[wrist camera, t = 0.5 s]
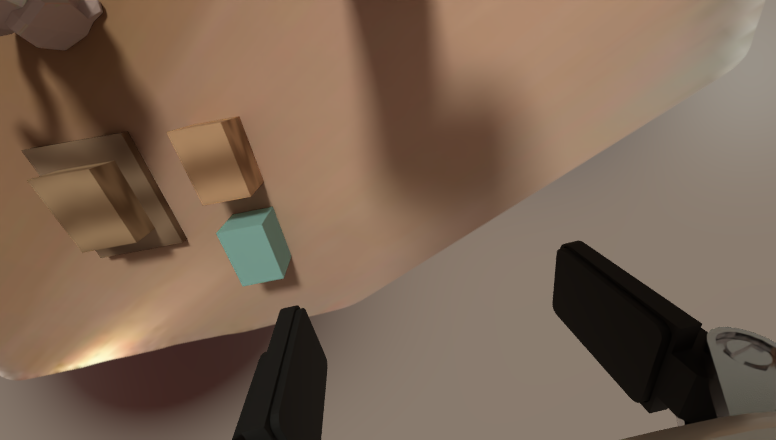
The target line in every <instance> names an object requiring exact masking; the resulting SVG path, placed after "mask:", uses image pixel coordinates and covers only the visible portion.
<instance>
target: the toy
mask: <svg viewBox="0 0 776 440" xmlns="http://www.w3.org/2000/svg"><path fill="white" fill-rule="evenodd" d="M102 13H103V10H102V6H101V3H100V2H99V1H98V0H0V36H4V35H9V34H12V33H14V32H15V33H16V34H18V35H19V36H21V37H22V38H24V39H25V40H27V41H28V42H30V43H31V44H33V45H34V46H36V47H37V48H45V49H55V50H65V51H66V50H67V49H68V48H70V47H71V46H73V45H74V44H76V43H77V42H78V41H80V40H81V39H83V38H84V37H85V36H87V35H88V32H89V30H90V28H91V26H92V24H93V22H94V21H95V20H96V19H97V18H98V17H99V16H100V15H101V14H102Z"/></svg>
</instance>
